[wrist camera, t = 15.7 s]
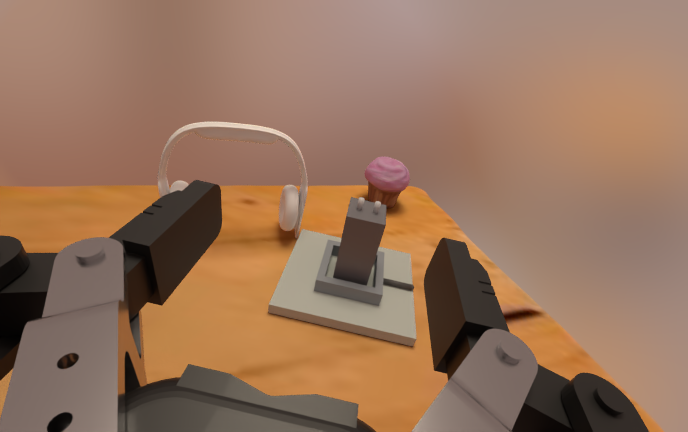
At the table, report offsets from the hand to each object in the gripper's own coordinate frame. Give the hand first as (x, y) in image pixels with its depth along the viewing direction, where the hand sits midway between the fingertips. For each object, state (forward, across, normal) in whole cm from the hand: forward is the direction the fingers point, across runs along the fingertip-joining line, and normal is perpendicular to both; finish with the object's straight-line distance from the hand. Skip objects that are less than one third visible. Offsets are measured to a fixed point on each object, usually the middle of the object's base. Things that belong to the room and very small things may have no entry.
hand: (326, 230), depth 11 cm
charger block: (+23, -3, +24) cm, 33 cm away
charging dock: (+23, -3, +25) cm, 34 cm away
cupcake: (+48, -7, +26) cm, 55 cm away
